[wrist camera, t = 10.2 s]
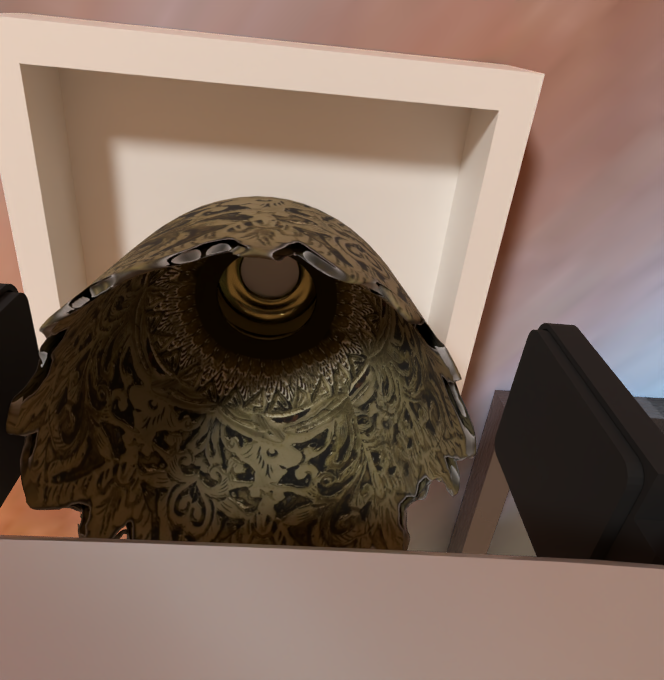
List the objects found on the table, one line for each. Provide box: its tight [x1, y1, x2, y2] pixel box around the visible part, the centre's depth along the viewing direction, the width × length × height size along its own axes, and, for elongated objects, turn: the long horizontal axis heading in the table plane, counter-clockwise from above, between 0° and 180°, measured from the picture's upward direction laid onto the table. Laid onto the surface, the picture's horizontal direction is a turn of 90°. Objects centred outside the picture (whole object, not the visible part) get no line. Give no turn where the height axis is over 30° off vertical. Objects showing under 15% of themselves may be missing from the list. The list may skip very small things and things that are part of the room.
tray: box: [0, 13, 545, 395], centre depth 15 cm, size 12×12×2 cm
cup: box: [6, 196, 476, 551], centre depth 12 cm, size 8×7×8 cm
